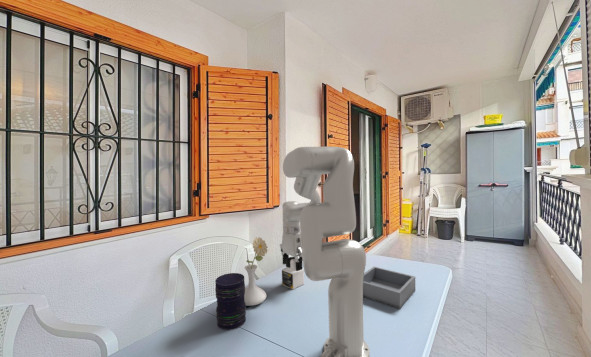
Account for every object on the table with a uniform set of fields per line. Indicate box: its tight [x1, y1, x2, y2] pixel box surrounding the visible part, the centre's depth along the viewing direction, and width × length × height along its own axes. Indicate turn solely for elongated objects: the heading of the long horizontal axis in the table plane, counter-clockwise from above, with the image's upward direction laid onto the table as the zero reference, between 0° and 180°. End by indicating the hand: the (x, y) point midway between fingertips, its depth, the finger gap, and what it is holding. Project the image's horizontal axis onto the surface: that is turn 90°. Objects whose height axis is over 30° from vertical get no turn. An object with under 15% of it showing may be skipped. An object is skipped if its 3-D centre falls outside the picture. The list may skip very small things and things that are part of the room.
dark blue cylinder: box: [214, 272, 247, 331], centre depth 89 cm, size 10×10×15 cm
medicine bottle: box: [281, 256, 305, 290], centre depth 115 cm, size 7×7×12 cm
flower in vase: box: [244, 236, 269, 307], centre depth 102 cm, size 13×11×25 cm
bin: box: [363, 266, 416, 310], centre depth 106 cm, size 18×18×6 cm
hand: (292, 266), depth 116 cm, fingers open, 9 cm apart
